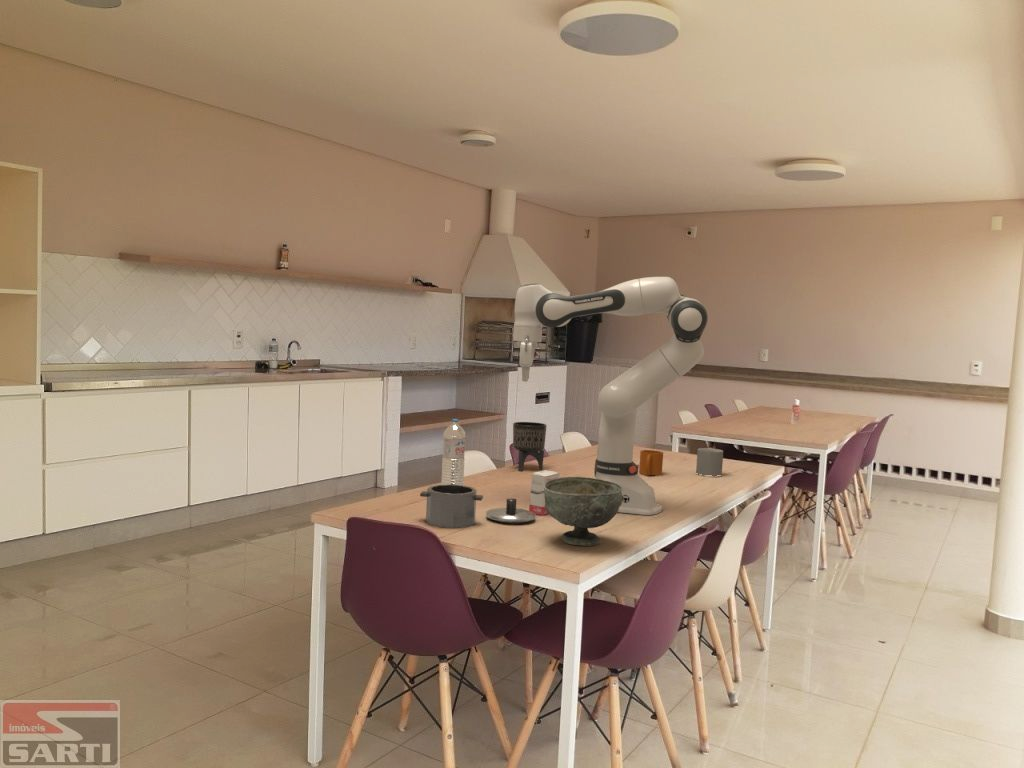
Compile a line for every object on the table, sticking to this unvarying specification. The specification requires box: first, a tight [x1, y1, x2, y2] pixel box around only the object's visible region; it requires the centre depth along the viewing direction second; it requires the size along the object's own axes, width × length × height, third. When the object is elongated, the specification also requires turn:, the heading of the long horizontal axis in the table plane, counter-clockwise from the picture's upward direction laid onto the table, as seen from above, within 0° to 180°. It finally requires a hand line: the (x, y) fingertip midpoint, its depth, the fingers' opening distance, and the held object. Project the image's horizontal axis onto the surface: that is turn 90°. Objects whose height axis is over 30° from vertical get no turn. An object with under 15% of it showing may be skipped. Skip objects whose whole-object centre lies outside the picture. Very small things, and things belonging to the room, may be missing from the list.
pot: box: [419, 484, 484, 529], centre depth 215 cm, size 17×13×9 cm
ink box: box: [528, 469, 560, 516], centre depth 232 cm, size 9×5×12 cm, turn 148°
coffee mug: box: [695, 447, 724, 476], centre depth 314 cm, size 13×10×10 cm
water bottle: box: [440, 418, 467, 486], centre depth 243 cm, size 7×7×25 cm
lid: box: [485, 497, 537, 524], centre depth 222 cm, size 14×14×6 cm
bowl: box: [544, 476, 623, 547], centre depth 201 cm, size 20×19×15 cm
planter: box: [512, 421, 547, 472], centre depth 305 cm, size 13×13×18 cm
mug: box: [638, 449, 664, 477], centre depth 307 cm, size 9×12×9 cm
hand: (525, 380), depth 246 cm, fingers open, 8 cm apart
